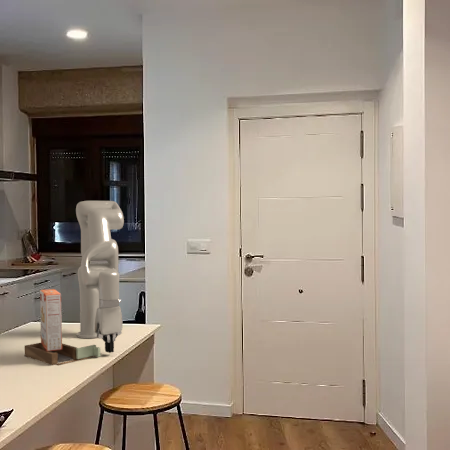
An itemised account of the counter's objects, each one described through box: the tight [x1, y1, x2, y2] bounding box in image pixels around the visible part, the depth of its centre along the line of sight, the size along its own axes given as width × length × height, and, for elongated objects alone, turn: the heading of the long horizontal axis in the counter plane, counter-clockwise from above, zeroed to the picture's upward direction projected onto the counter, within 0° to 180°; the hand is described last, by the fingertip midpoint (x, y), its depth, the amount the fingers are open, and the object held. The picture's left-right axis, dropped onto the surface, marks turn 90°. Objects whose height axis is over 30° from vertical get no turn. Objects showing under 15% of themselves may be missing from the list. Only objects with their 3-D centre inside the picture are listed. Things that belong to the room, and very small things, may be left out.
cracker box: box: [39, 288, 63, 351], centre depth 213 cm, size 14×6×21 cm, turn 26°
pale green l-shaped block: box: [76, 344, 101, 359], centre depth 211 cm, size 8×4×4 cm, turn 138°
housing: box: [24, 342, 98, 366], centre depth 215 cm, size 18×21×4 cm
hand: (109, 351), depth 217 cm, fingers closed
